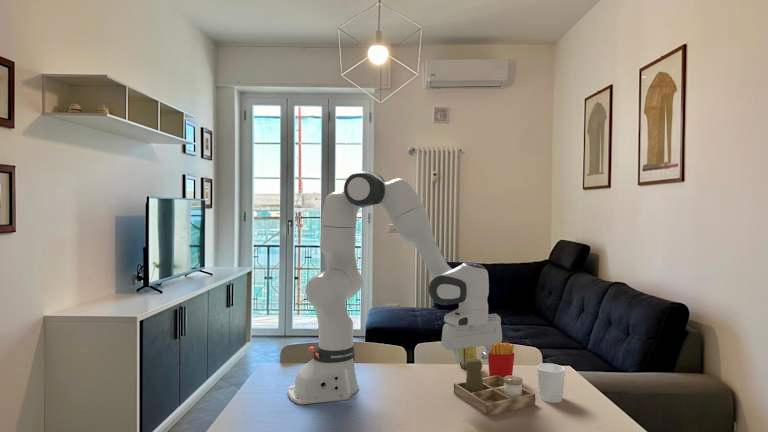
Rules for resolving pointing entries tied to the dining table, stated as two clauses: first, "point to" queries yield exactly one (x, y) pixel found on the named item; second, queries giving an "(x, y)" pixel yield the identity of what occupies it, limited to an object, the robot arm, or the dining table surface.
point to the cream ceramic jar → (513, 386)
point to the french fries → (501, 360)
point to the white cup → (550, 382)
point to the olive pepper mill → (474, 375)
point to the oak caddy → (493, 396)
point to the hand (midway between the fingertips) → (472, 360)
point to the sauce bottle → (467, 355)
